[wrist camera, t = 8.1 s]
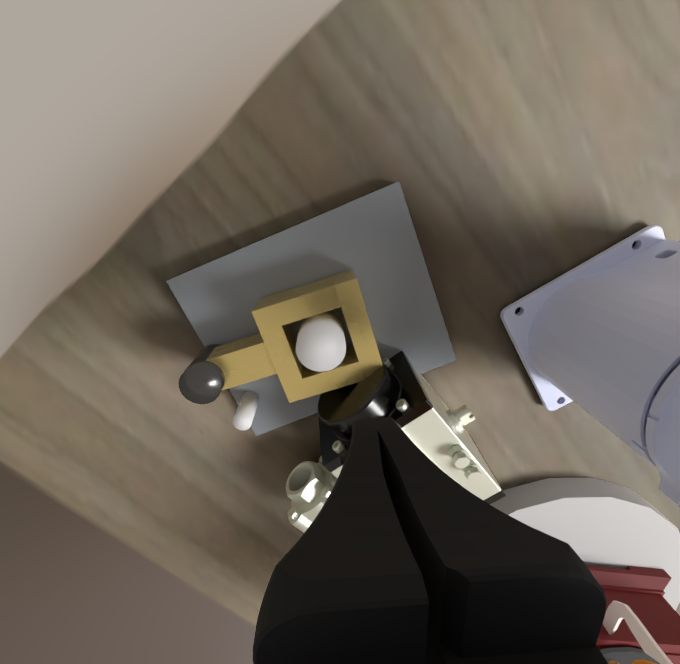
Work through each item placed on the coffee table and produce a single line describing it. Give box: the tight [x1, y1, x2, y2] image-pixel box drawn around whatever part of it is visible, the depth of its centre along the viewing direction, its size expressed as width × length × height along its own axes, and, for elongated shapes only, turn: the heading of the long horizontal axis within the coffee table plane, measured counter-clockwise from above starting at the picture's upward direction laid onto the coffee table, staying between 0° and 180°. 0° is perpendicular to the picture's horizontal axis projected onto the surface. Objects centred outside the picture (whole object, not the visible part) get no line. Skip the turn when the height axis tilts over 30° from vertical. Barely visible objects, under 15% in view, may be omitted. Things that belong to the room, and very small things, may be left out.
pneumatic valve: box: [286, 351, 506, 533], centre depth 21 cm, size 6×12×12 cm
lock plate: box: [166, 182, 457, 436], centre depth 19 cm, size 13×10×4 cm
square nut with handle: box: [179, 269, 383, 404], centre depth 19 cm, size 5×10×3 cm, turn 107°
